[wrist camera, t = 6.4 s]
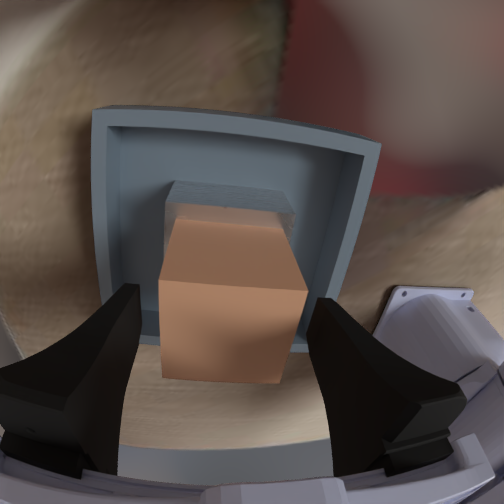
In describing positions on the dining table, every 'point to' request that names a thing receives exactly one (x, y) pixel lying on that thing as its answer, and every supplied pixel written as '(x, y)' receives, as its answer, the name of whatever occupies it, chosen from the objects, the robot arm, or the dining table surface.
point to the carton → (228, 303)
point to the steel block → (227, 206)
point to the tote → (229, 173)
